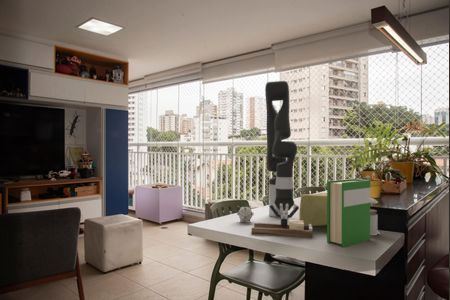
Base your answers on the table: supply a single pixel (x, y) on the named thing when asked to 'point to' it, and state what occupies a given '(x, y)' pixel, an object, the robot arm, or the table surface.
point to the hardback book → (348, 211)
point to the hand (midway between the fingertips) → (284, 227)
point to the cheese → (313, 209)
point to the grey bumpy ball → (245, 214)
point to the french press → (373, 217)
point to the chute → (281, 230)
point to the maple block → (296, 225)
